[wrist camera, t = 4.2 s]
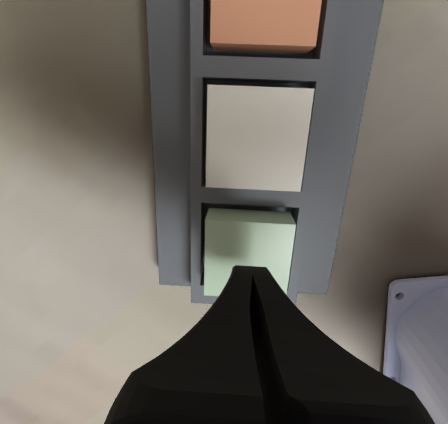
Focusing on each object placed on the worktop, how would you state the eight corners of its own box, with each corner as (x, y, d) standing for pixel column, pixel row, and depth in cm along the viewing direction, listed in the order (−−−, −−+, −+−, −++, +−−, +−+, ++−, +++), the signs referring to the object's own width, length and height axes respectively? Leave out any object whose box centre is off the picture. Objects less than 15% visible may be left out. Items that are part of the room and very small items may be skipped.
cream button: (293, 182, 14) (300, 191, 12) (209, 178, 14) (205, 187, 12) (305, 90, 12) (314, 88, 11) (211, 87, 12) (207, 84, 11)
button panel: (320, 280, 19) (334, 311, 16) (165, 270, 19) (152, 300, 16) (385, -83, 12) (429, -139, 9) (151, -88, 13) (126, -143, 10)
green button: (281, 281, 16) (285, 300, 14) (207, 277, 16) (203, 295, 14) (290, 212, 14) (295, 224, 13) (208, 207, 14) (205, 219, 13)
